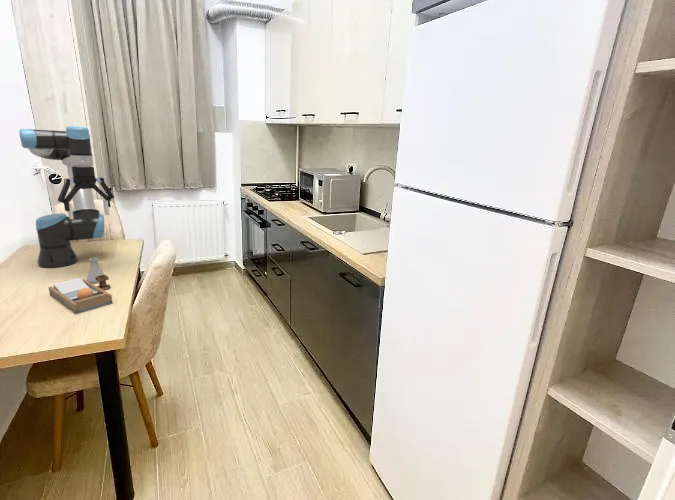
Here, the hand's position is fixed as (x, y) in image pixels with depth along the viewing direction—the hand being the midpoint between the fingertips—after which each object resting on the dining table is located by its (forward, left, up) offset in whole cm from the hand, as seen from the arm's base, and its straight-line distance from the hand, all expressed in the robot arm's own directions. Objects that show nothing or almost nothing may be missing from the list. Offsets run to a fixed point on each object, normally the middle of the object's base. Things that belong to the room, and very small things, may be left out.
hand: (89, 216), depth 153 cm
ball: (+27, -15, -23) cm, 39 cm away
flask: (+6, -3, -27) cm, 28 cm away
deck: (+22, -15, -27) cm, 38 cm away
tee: (+17, -5, -27) cm, 32 cm away
